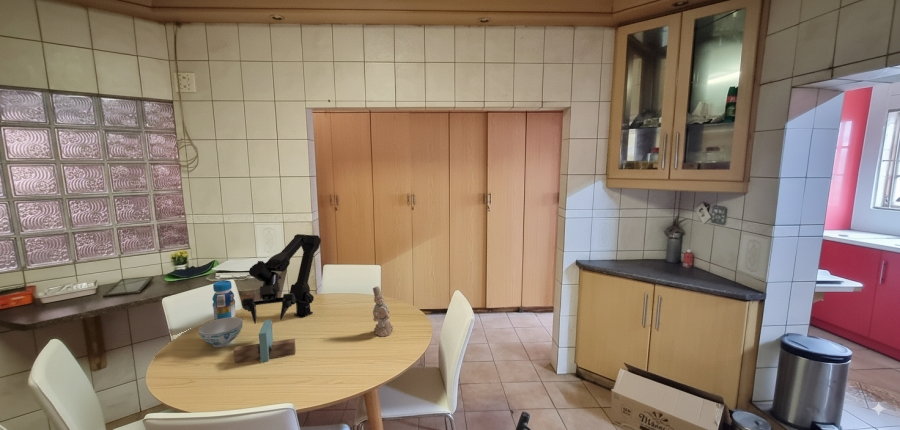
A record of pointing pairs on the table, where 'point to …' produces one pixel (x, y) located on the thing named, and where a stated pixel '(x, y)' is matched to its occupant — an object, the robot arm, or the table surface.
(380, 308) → the figurine
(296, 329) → the table surface
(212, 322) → the chinaware
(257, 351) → the walnut slotted rail
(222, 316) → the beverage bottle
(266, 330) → the teal slotted plate
